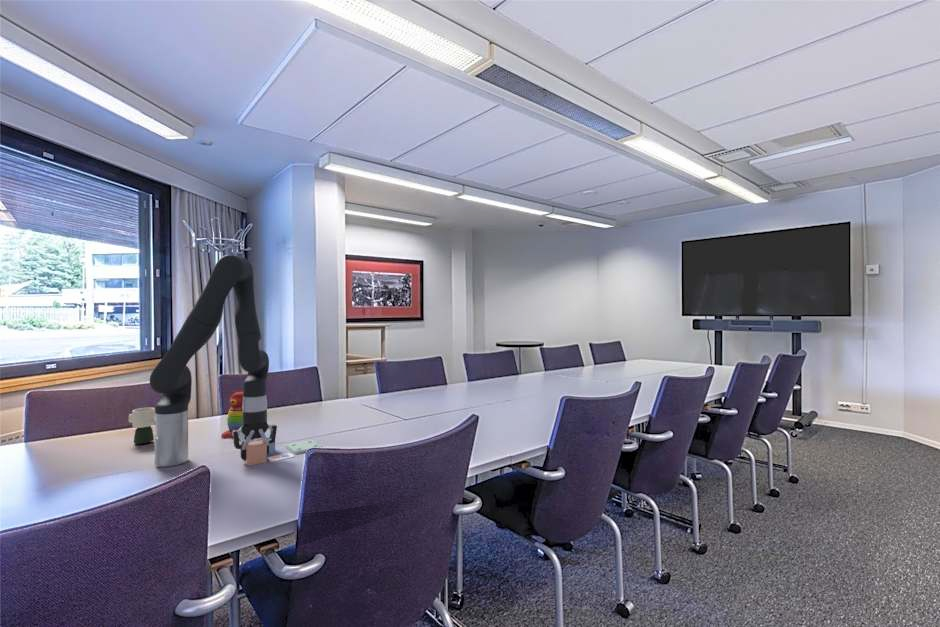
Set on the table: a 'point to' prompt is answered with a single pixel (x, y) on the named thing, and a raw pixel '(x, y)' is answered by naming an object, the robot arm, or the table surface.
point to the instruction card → (280, 457)
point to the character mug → (143, 424)
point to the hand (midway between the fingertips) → (255, 457)
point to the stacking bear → (234, 414)
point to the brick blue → (271, 446)
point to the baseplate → (302, 446)
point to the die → (242, 436)
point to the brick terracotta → (256, 453)
